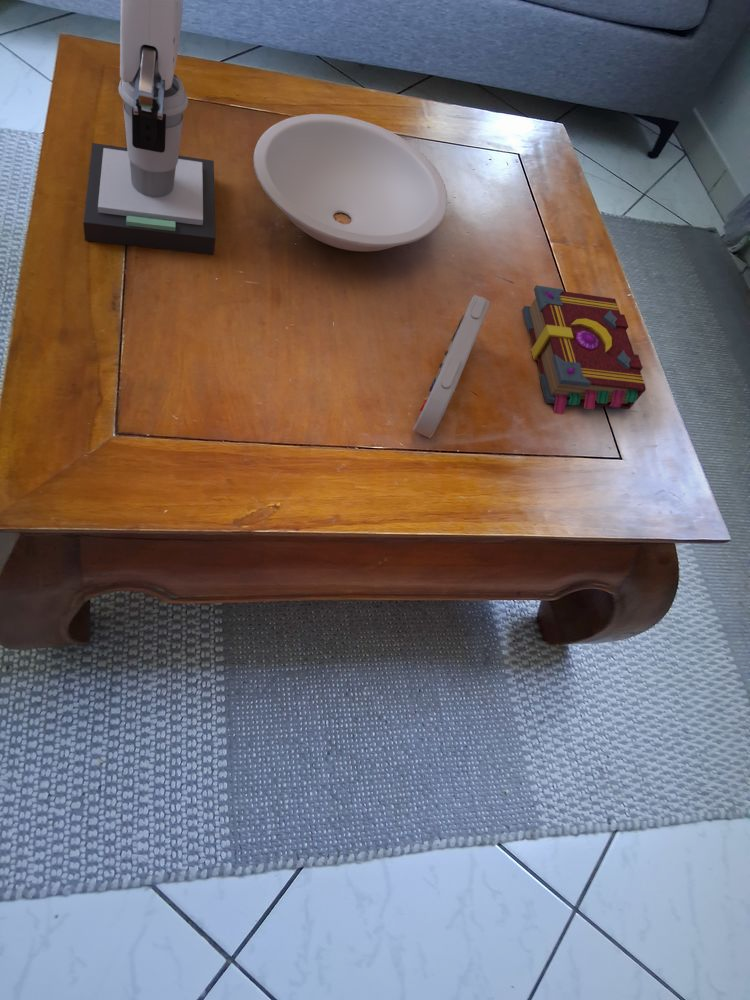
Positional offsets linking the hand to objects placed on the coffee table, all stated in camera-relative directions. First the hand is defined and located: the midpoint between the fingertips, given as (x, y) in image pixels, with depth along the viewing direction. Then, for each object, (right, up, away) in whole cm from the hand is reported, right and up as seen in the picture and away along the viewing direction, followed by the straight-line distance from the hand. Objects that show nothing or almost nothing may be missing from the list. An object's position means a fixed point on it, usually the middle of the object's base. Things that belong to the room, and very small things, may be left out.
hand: (153, 122), depth 81 cm
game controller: (+31, -28, +5) cm, 42 cm away
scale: (-3, -6, +9) cm, 11 cm away
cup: (-2, -4, +6) cm, 8 cm away
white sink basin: (+19, -4, +17) cm, 26 cm away
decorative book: (+48, -24, +13) cm, 55 cm away
